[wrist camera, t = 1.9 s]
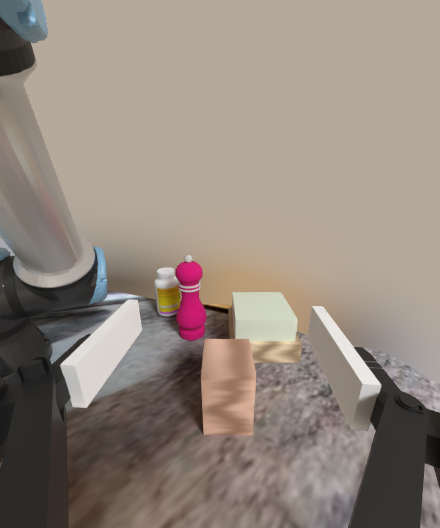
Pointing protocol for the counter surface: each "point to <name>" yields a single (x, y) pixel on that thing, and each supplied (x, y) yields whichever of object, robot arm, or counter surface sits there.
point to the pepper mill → (190, 300)
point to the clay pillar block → (228, 387)
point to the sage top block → (263, 317)
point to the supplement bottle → (167, 292)
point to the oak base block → (271, 348)
